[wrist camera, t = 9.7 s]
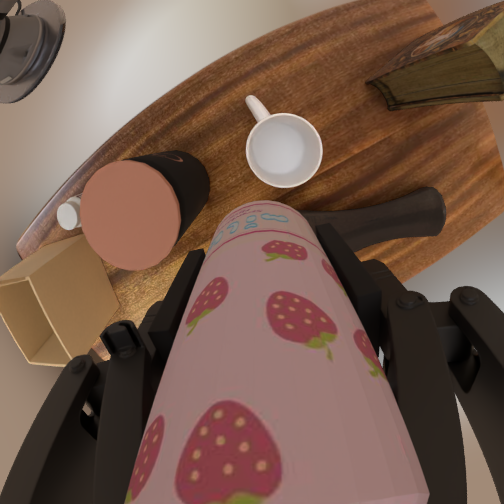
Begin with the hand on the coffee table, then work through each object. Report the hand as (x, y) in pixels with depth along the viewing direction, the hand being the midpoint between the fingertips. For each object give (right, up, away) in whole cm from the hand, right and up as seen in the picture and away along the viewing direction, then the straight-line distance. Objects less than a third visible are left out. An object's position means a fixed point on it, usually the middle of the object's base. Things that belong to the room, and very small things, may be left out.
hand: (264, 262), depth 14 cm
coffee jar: (-12, +10, +27) cm, 31 cm away
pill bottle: (-27, +9, +28) cm, 40 cm away
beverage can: (0, +1, +2) cm, 2 cm away
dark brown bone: (+14, +6, +28) cm, 32 cm away
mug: (+2, +17, +24) cm, 29 cm away
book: (+23, +29, +19) cm, 41 cm away
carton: (-33, -4, +33) cm, 47 cm away
